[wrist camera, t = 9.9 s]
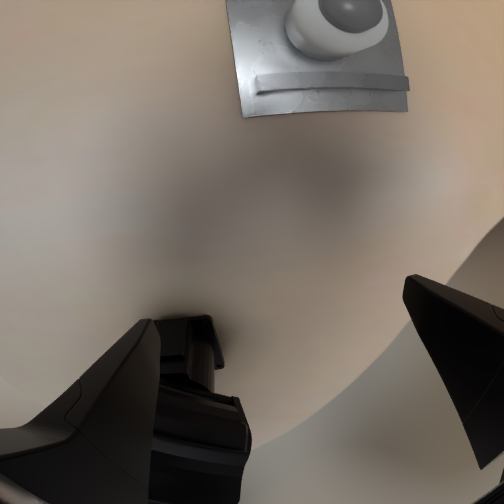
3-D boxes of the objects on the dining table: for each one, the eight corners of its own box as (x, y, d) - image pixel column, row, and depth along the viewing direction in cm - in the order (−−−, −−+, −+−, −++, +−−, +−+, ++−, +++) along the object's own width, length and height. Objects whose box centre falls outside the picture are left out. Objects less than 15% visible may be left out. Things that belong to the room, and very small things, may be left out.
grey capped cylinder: (361, 62, 15) (404, 50, 11) (290, 61, 15) (314, 42, 10) (350, 1, 13) (386, -26, 8) (279, -3, 13) (298, -39, 8)
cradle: (403, 111, 18) (422, 113, 15) (242, 117, 17) (244, 117, 15) (379, -25, 12) (394, -35, 10) (220, -33, 12) (220, -49, 10)
